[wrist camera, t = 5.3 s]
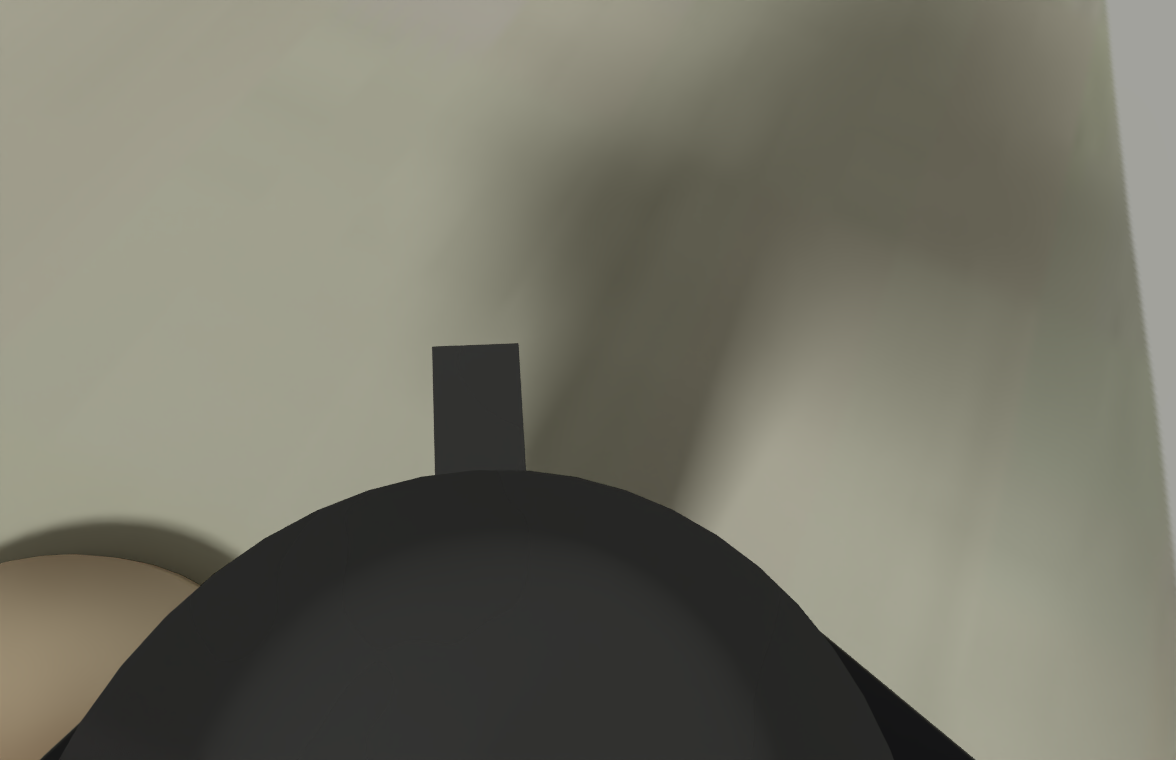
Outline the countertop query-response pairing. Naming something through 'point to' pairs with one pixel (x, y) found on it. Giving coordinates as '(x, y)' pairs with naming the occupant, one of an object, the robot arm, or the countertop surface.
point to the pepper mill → (484, 626)
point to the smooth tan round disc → (70, 638)
